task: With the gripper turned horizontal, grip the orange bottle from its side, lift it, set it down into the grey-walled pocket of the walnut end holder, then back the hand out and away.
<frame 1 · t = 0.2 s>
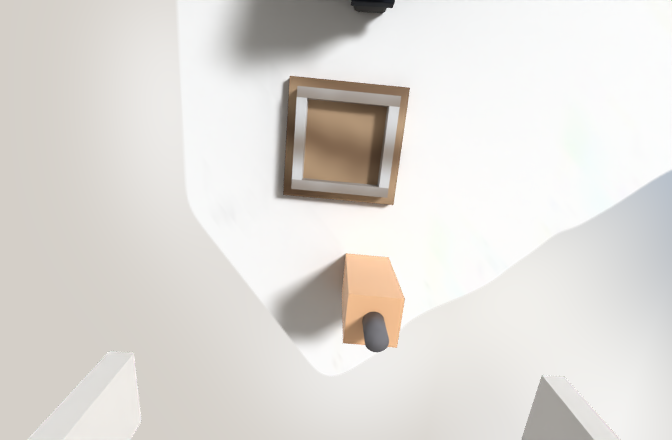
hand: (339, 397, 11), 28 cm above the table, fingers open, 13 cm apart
orange bottle: (364, 275, 40), on the table
end holder: (343, 143, 36), on the table
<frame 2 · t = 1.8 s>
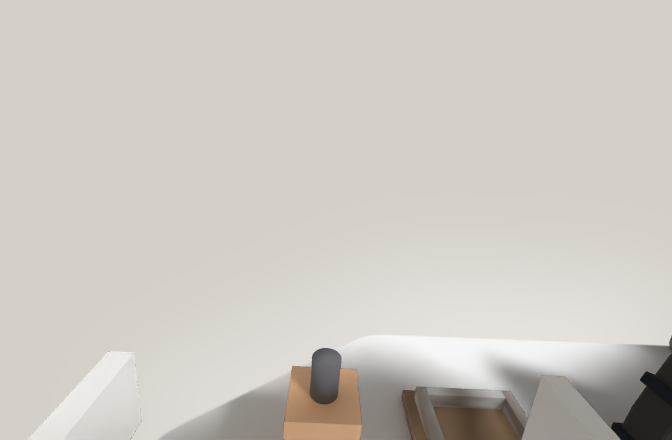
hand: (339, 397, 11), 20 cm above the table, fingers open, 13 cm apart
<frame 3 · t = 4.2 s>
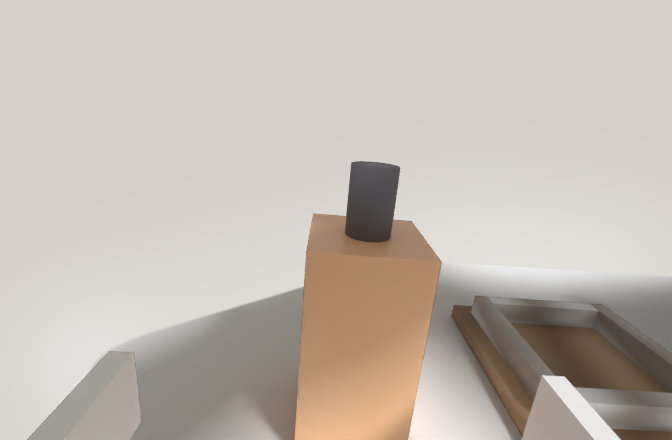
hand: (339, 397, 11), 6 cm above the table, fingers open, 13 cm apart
orange bottle: (346, 413, 18), on the table
end holder: (573, 374, 22), on the table
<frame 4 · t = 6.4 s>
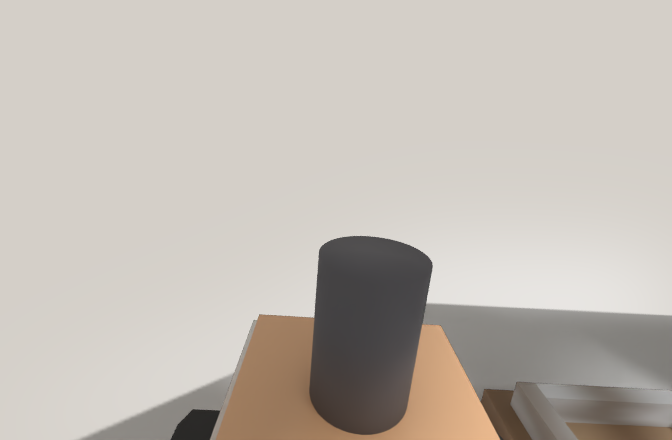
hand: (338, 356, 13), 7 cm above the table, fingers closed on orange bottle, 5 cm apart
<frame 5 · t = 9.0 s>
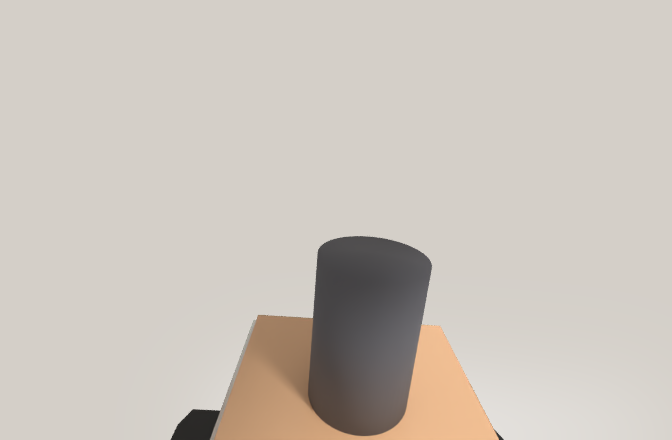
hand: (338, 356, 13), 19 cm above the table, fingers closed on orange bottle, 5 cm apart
when the fingers open (9 cm above the table, at t = 11.5 s): orange bottle drops 1 cm, resting on end holder.
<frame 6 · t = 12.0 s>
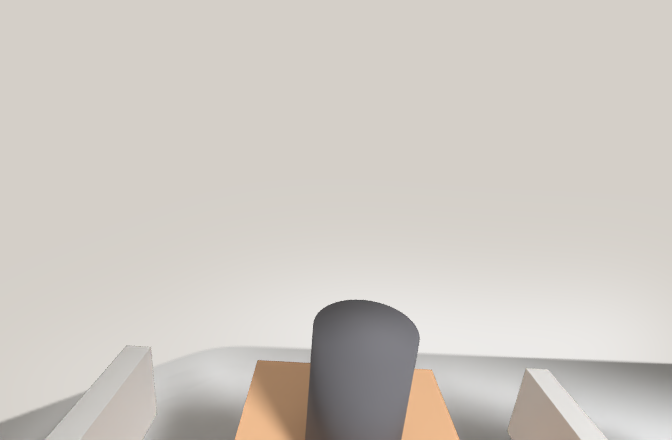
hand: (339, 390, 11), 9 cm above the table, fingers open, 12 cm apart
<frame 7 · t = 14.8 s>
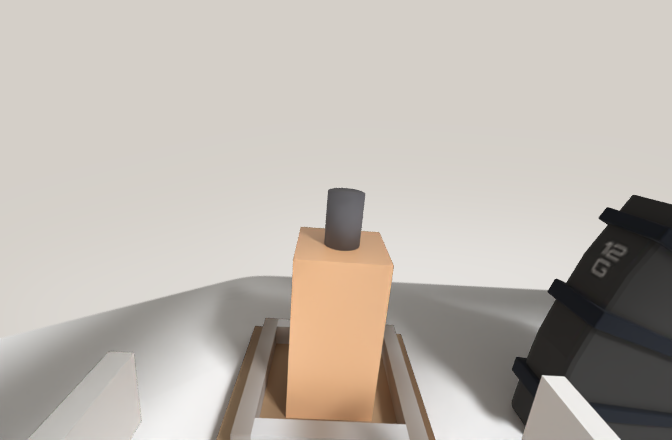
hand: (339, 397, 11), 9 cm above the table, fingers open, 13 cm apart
magazine: (613, 426, 23), on the table
orange bottle: (328, 386, 22), point 1 cm above the table, touching end holder
end holder: (327, 398, 23), on the table
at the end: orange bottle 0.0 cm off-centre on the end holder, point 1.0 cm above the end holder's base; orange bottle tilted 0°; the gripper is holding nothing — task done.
